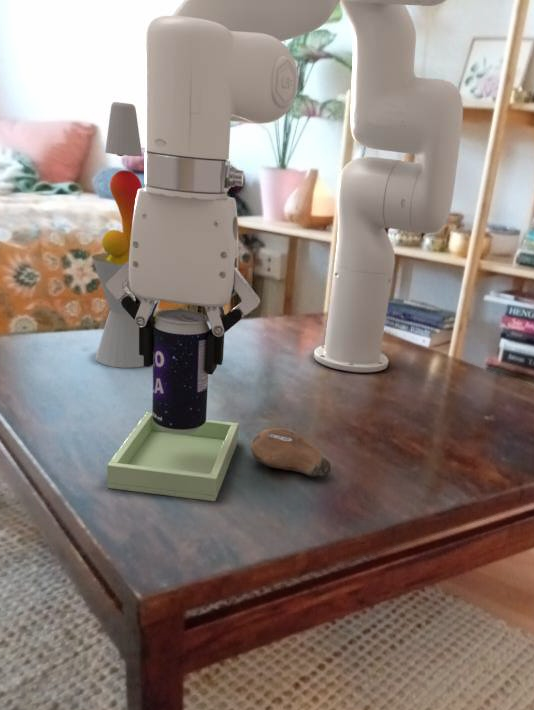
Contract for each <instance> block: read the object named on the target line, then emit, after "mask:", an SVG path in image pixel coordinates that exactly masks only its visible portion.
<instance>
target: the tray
mask: <svg viewBox="0 0 534 710" xmlns="http://www.w3.org/2000/svg"><path fill="white" fill-rule="evenodd" d="M238 438H239V422H230V421H222V420H215V419H214V420H213V419H207V418H206V422H205V423H204V424H203V425H202V426H200V427H199V428H198V430H197V431H195V432H193V433H189V434H173V433H168V432H165V431H163V430H162V429H161V428H160V427H159V425H157V424H156V423H155V422H154V421H153V419H152V412H148V411H146V413H145V414H144V415H143V416H142V418H141V419H140V420H139V422H138V423H137V425H136V426H135V428H134V429H133V430H132V432H131V433H130V434H129V436H128V437H127V438H126V439H125V441H124V442H123V443H122V445H121V446H120V447H119V449H118V450H117V451H116V453H115V454H114V456H113V457H112V458H111V459H110V461H109V462H108V464H107V466H106V467H107V468H106V469H107V489H113V490H120V491H129V492H137V493H145V494H152V495H160V496H167V497H168V496H169V497H177V498H184V499H192V500H200V501H209V502H216V501H217V497H218V495H219V492H220V490H221V487H222V485H223V482H224V480H225V477H226V474H227V472H228V468H229V466H230V463H231V460H232V458H233V456H234V453H235V451H236V448H237V445H238V440H239V439H238Z"/></svg>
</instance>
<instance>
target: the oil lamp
mask: <svg viewBox="0 0 534 710" xmlns="http://www.w3.org/2000/svg"><path fill="white" fill-rule="evenodd" d="M249 446H250V452H251V454H252V455H253V457H254V459H256V460H257V461H258V462H259V463H261V464H263V465H265V466H267V467H269V468H273V469H280V470H283V471H290V472H291V471H292V472H296V473H301V474H302V475H303V474H304V475H307V476H308V477H310V478H315V477H322V478H324V477H326V476H328V475H329V474H330V472H331V469H332V467H331V462H330V461H329V460H328V459H327V458H326V457H325V455H323V454H322V452H321V451H319V450H318V449H317V448H316V447H315V446H313V445H312V444H311V443H309V442H308V441H307V439H305V438H304V437H303V436H302V435H301V434H299V433H298V432H296V431H294V430H292V429H288V428H283V427H273V428H267V429H264V430H262V431H260V432H259V433H257V434H256V435H255V436H254V437H253V438H252V440H251V442H250V445H249Z"/></svg>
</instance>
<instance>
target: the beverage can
mask: <svg viewBox="0 0 534 710" xmlns="http://www.w3.org/2000/svg"><path fill="white" fill-rule="evenodd" d="M155 321H156V323H155V325H154V327H153V365H152V404H151V405H152V406H151V407H152V411H151V413H152V419H153V421H154V422H155V423H156V424H157V425H159V427H160V428H161V429H162V430H163V431H165V432H168V433H173V434H189V433H193V432H195V431H197V430H198V428H199V427H200V426H202V425H203V424H204V423H205V422H206V419H207V410H208V409H207V408H208V389H209V388H208V387H209V374H207V373H205V363H206V341H207V336H208V335H209V334H210V329H211V327H209V326H210V325H209V324H208V322H207V321H208V316H206V314H204V313H201V312H198V311H194V310H187V309H186V310H185V309H167V310H162V311H159V312H158V313H157V319H156V320H155Z"/></svg>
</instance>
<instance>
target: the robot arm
mask: <svg viewBox="0 0 534 710" xmlns="http://www.w3.org/2000/svg"><path fill="white" fill-rule="evenodd" d="M446 1H447V0H183V1H182V2H181V4H180V5H179V6H178V7H177V8H176V10H175V12H174V13H172V15H161V16H158V17H155V18H153V20H151V22H150V23H149V24H148V26H147V30H146V35H145V95H144V96H145V99H144V100H145V101H144V102H145V107H144V109H145V114H144V115H145V116H144V117H145V118H144V119H145V120H144V121H145V123H144V124H145V125H144V129H145V130H144V131H145V133H144V136H145V137H144V138H145V140H144V142H145V143H144V144H145V145H144V148H145V149H144V151H145V152H144V187H142V188H140V189H138V193H137V198H136V203H135V209H134V215H133V222H132V231H131V241H130V253H129V260H128V261H127V262H126V263H125V264H124V265H123V266H122V267H121V268H120V269H119V270H118V272H117V273H116V274H115V275H114V276H113V277H112V278H111V279H110V280H109V281H108V282H107V283H106V289H107V290H108V291H109V292H110V293H111V294H112V295H113V296H114V297H115V298H116V299H117V300H118V301H119V302H120V303H121V305H122V307H123V308H124V309H125V310H126V311H127V312H128V313H129V315H130V316H131V317H132V318H133V319H134V320H135V324H136V325H137V326H138V327H139V355H142V356H144V366H143V367H146V368H150V367H153V327H154V325H155V323H156V321H157V320H156V317H155V314H156V311H157V309H158V307H159V304H160V302H162V303H163V302H165V303H170V304H171V303H173V304H180V305H188V306H196V307H204V309H205V312H206V315H207V316H206V317H207V320H208V323H209V326H210V334H209V335H208V336H207V341H206V363H205V373H207V374H208V375H213V374H214V372H215V371H216V370H217V367H218V366H222V364H223V361H224V350H225V349H224V347H225V333H227V332H228V331H229V330H230V329H231V328H233V327H234V326H235V325H236V324H238V322H240V321H241V320H242V319H243V318H245V317H246V316H248V315H249V314H250V313H252V312H253V311H254V310H255V309H257V308H258V307H259V305H260V303H261V299H260V297H259V295H258V294H257V293H256V292H255V290H254V289H253V288H252V287H251V285H250V284H249V282H248V281H247V280H246V279H245V277H244V276H243V275H242V273H241V272H240V271H239V223H238V212H237V211H238V210H237V202H236V198H235V197H231V196H228V192H229V189H231V188H234V187H235V186H236V187H243V186H244V180H245V179H244V177H245V172H244V170H238V169H236V168H235V167H233V165H231V160H230V143H231V141H230V140H231V124H232V123H240V124H248V125H266V124H271V123H274V122H276V121H279V120H280V119H281V118H282V117H284V116H285V115H286V114H287V113H288V112H289V110H290V109H291V108H292V106H293V104H294V102H295V99H296V96H297V92H298V87H299V74H298V68H297V65H296V61H295V58H294V56H293V54H292V52H291V51H290V50H289V48H288V47H287V46H286V45H285V43H284V41H288V40H291V39H295V38H298V37H301V36H304V35H306V34H310V33H312V32H314V31H316V30H318V29H319V28H321V27H322V26H323V25H324V24H325V23H327V21H328V20H329V19H330V18H331V16H332V14H333V13H334V12H335V10H336V8H337V7H338V5H339V3H340V4H341V7H342V8H343V11H344V14H345V15H346V18H347V21H348V23H349V28H350V32H351V38H352V63H351V65H352V66H351V67H352V68H351V84H350V85H351V86H350V87H351V88H350V92H351V93H350V110H349V112H350V115H349V116H350V117H349V119H350V120H349V121H350V132H351V136H352V139H353V140H354V141H355V143H357V144H358V145H360V146H362V147H365V148H368V149H372V150H378V151H385V152H394V153H401V154H411V155H416V156H417V157H418V158H419V160H420V162H414V161H404V160H400V159H393V158H385V157H378V156H377V157H375V156H363V157H357V158H355V159H352V160H351V161H349V162H347V163H346V164H345V165H344V166H343V168H342V169H341V171H340V174H339V176H338V180H337V187H336V200H337V201H336V202H337V203H336V204H337V237H336V247H335V255H334V263H333V270H332V271H333V272H332V281H331V287H330V296H329V298H330V299H329V305H328V313H327V323H326V329H325V337H324V345H320V346H317V348H315V350H314V353H313V358H314V360H315V361H316V362H317V363H319V364H320V365H323V366H324V367H328V368H331V369H334V370H337V371H338V370H339V371H343V372H350V373H365V374H367V373H377V372H381V371H384V370H386V369H387V368H388V366H389V358H388V357H387V355H385V354H384V353H382V352H381V351H382V344H383V339H384V334H385V333H384V332H385V328H386V327H385V326H386V320H387V314H388V307H389V300H390V295H391V288H392V282H393V277H394V272H395V271H394V270H395V264H396V255H395V250H394V247H393V244H392V242H391V239H390V237H389V235H388V233H387V231H386V229H392V230H399V231H404V232H405V231H406V232H411V233H417V234H418V233H419V234H434V233H436V232H439V231H441V230H442V229H443V228H444V226H445V225H446V224H447V221H448V219H449V216H450V213H451V209H452V204H453V198H454V192H455V184H456V178H457V177H456V175H457V170H458V169H457V167H458V159H459V153H460V145H461V138H462V129H463V120H464V119H463V117H464V105H463V104H464V103H463V99H462V98H463V97H462V94H461V91H460V90H459V88H458V87H457V86H456V85H455V84H454V83H452V82H451V81H449V80H444V79H440V78H439V79H438V78H427V77H418V76H416V73H415V60H416V59H415V58H416V57H415V56H416V46H417V44H416V43H417V33H416V28H415V24H414V22H413V19H412V15H411V14H410V12H409V10H408V8H407V6H422V7H434V6H438V5H441V4H443V3H444V2H446ZM231 122H232V123H231ZM128 280H129V286H130V290H131V292H132V293H133V294H135V295H136V296H138V297H140V298H143V299H142V301H140V300H139V299H138V298H137V297H136V296H135V295H133V294H132V293H131V292H130V291H129V289H128V288H127V287H126V283H127V281H128ZM236 294H237V295H238V297H239V298H240V302H239V303H238V304H237V305H236V306H235V307H232V309H230V310H229V311H228V312H226V310H225V306H226V305H228V304H229V303H230V302H231V299H232V298H233V297H234V296H236Z"/></svg>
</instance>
